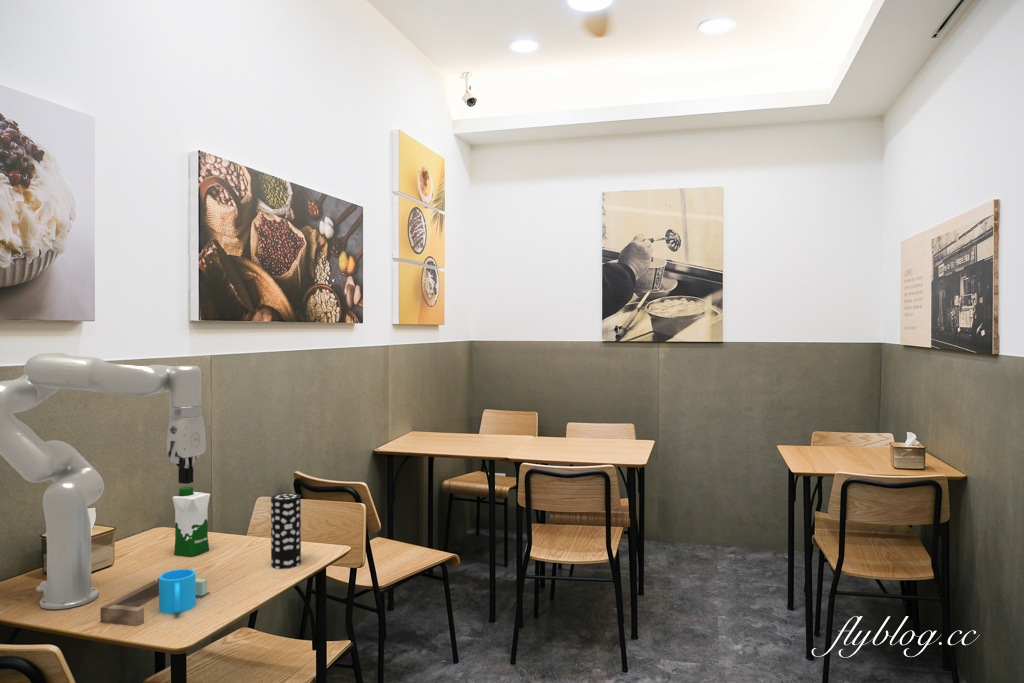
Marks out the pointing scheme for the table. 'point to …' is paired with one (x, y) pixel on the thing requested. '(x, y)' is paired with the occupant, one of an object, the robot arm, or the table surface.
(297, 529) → the white-spotted black cylinder
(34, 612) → the table surface
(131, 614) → the dock
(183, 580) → the mug
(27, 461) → the robot arm
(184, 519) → the milk carton
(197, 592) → the leg
